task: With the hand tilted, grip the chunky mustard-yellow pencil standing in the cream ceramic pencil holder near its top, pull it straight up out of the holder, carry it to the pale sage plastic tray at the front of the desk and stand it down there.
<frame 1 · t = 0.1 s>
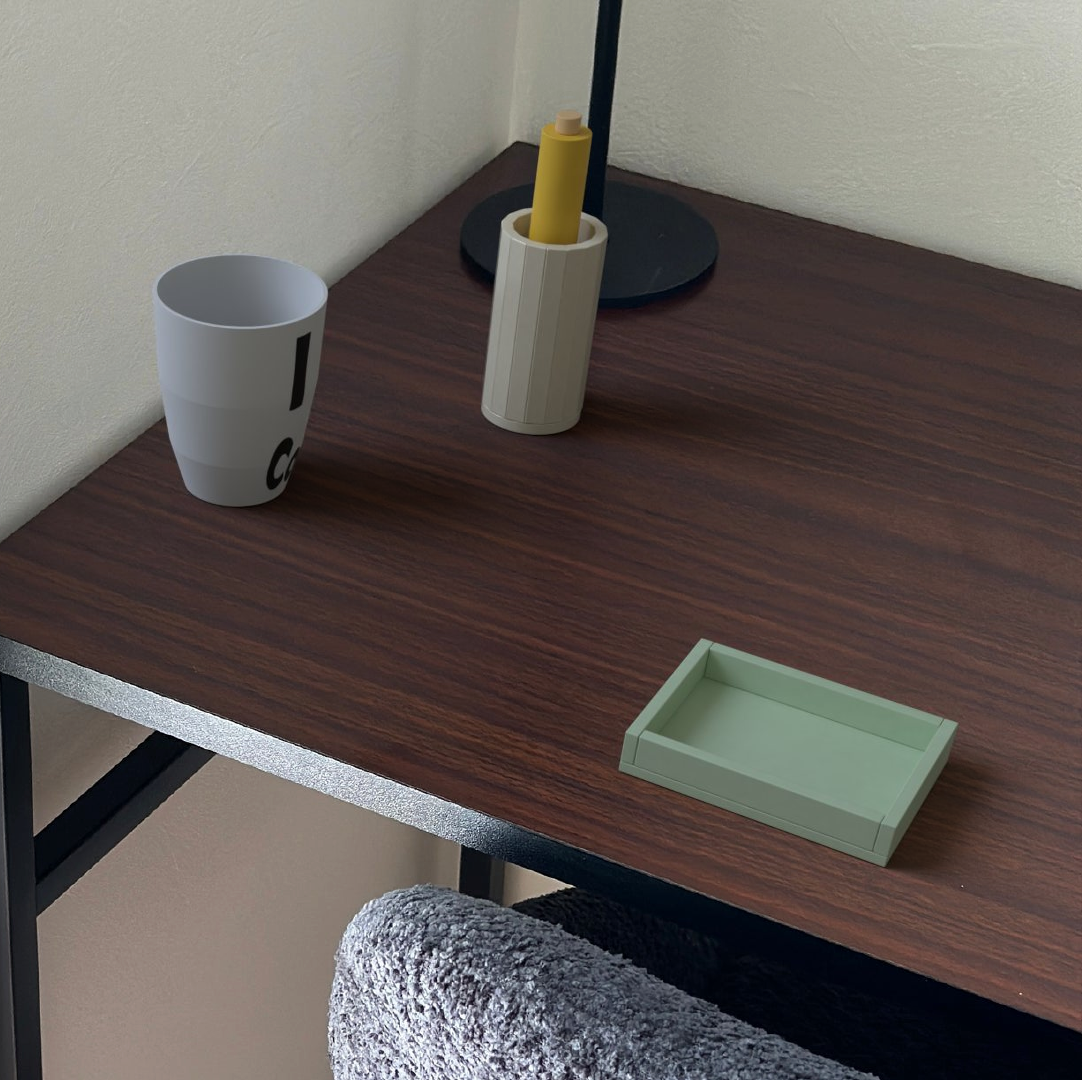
pencil holder: (530, 411, 109), on the table
cup: (234, 484, 103), on the table
tray: (783, 766, 86), on the table
pencil: (531, 400, 109), point 1 cm above the table, touching pencil holder
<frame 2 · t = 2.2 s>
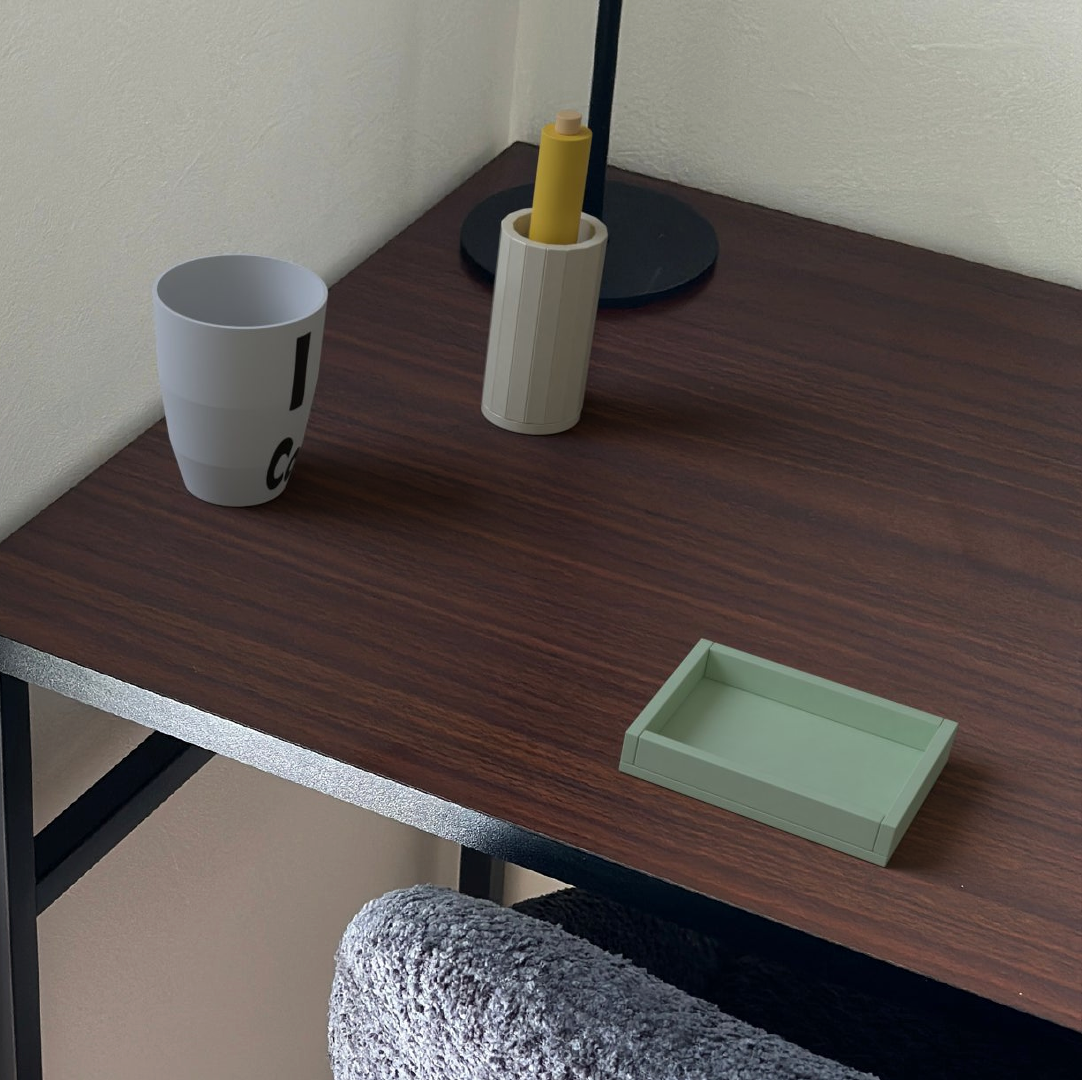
nothing on the table moved.
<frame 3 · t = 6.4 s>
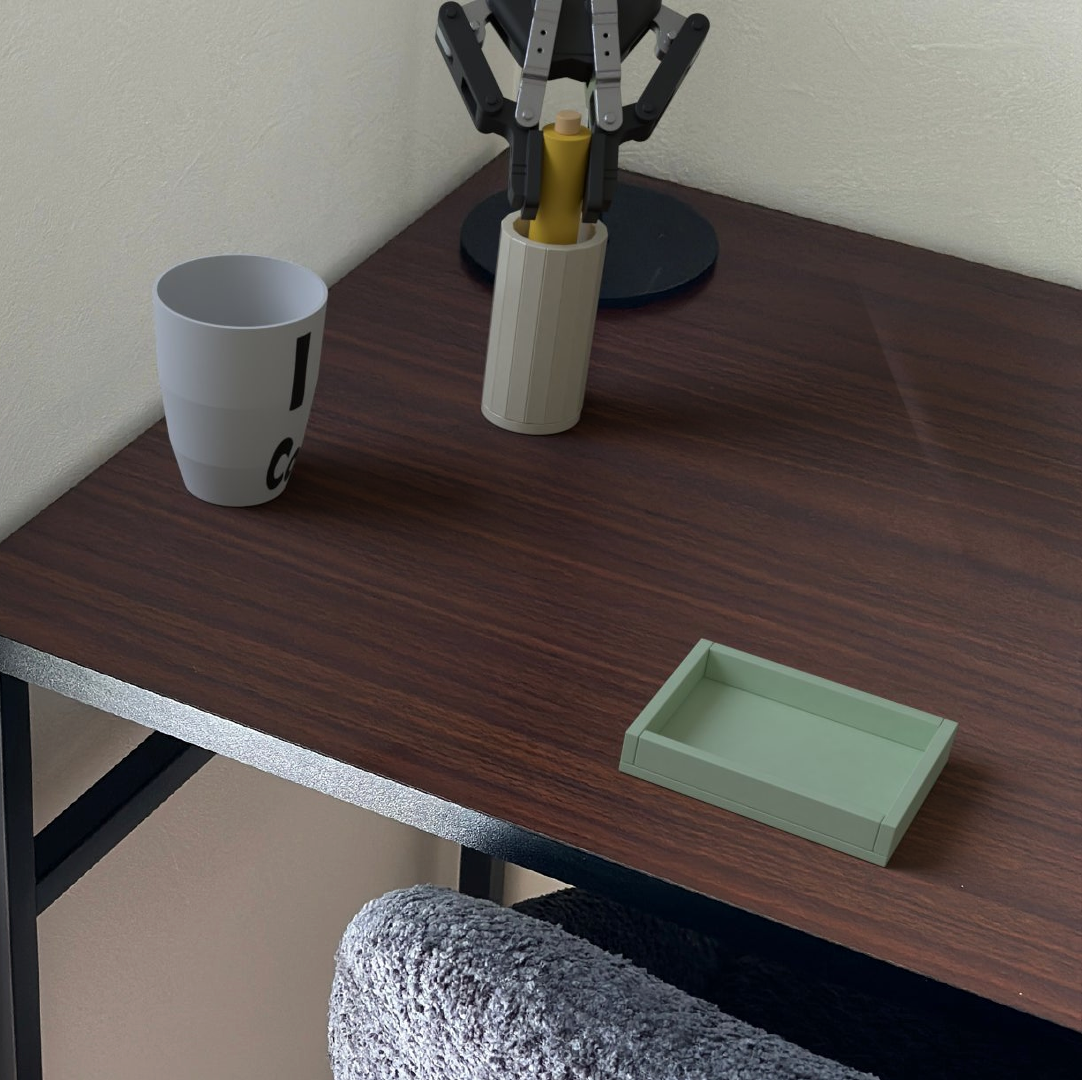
hand: (561, 214, 100), 12 cm above the table, tool tilted 45°, fingers closed on pencil, 2 cm apart
pencil: (531, 400, 109), point 1 cm above the table, touching gripper, pencil holder
everything else where it was.
when the fingers open (11 cm above the table, at t = 18.1 s): pencil stays where it is, resting on tray.
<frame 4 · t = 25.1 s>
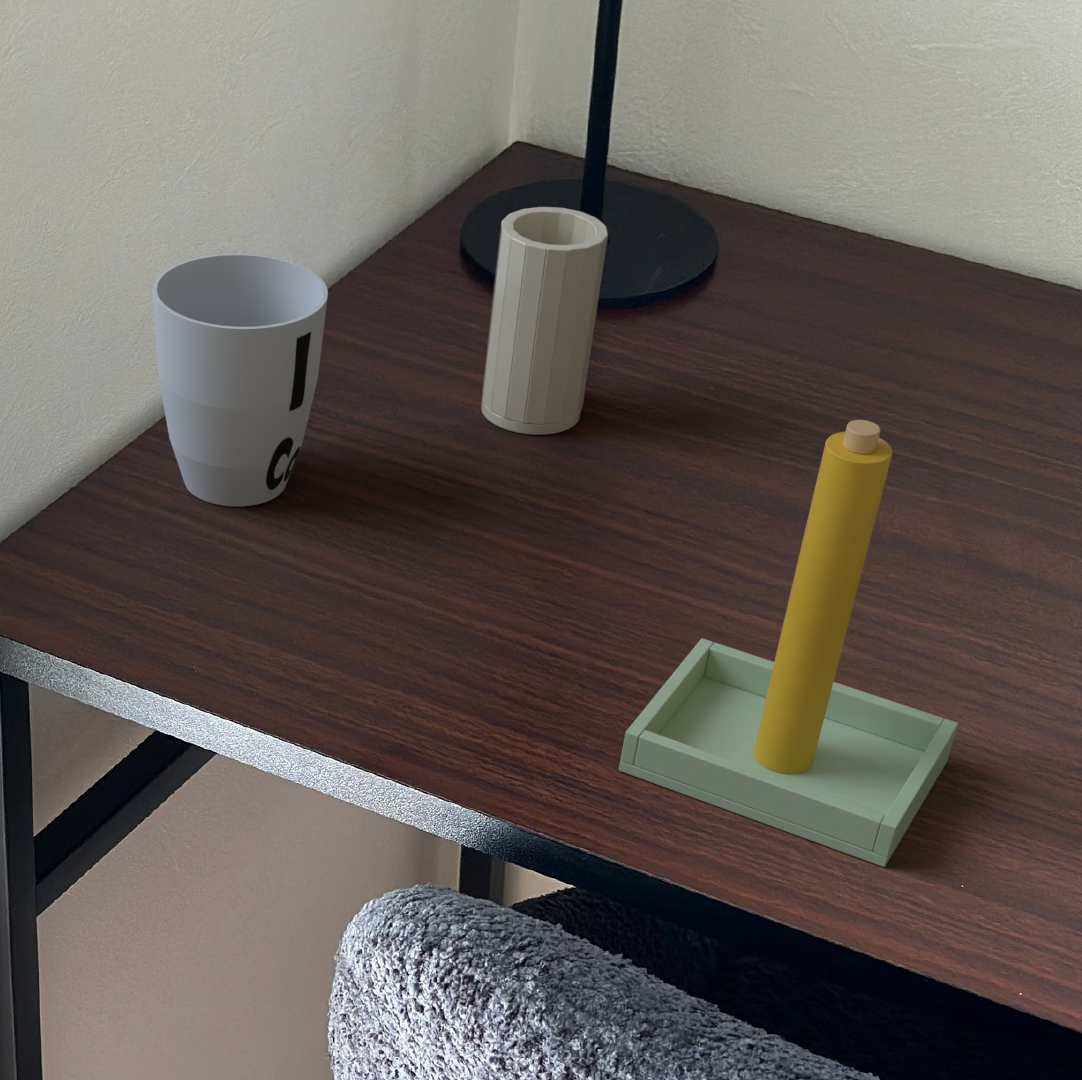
pencil: (783, 756, 85), resting on tray
everything else where it was.
at the end: pencil inside the target area in the tray (0.1 cm from its centre), point 0.5 cm above the tray's base; the gripper is holding nothing; pencil touching tray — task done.
